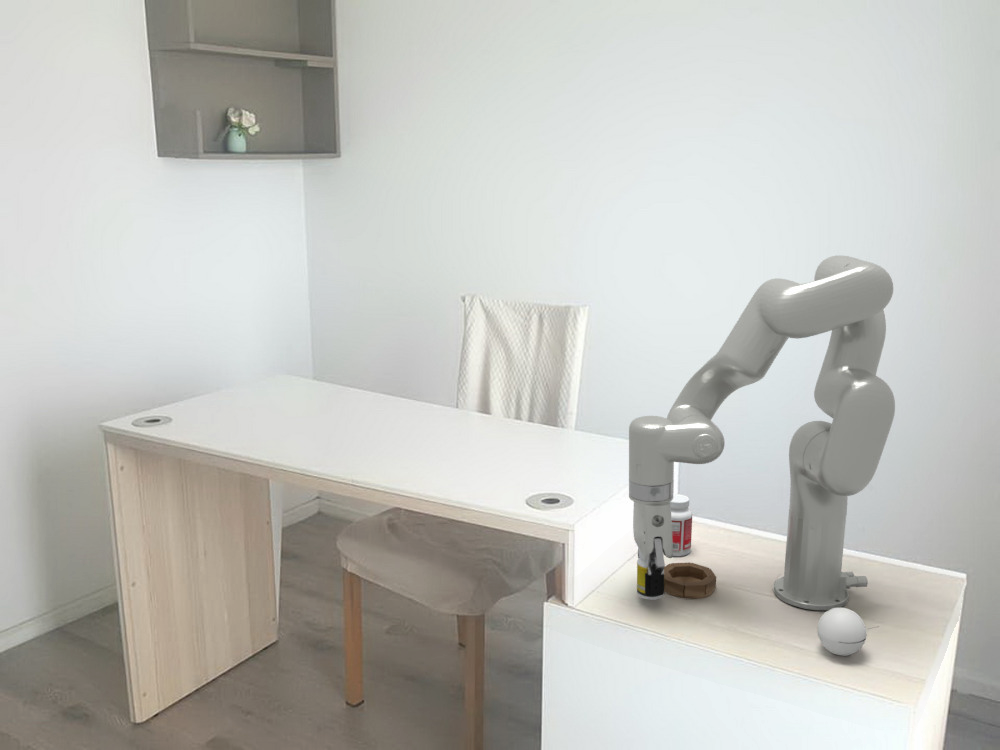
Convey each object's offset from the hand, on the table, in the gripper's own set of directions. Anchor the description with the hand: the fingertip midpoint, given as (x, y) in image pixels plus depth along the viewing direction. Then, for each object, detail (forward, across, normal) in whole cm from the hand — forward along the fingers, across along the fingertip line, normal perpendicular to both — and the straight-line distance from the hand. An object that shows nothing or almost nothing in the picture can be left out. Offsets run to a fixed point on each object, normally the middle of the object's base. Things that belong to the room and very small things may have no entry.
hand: (650, 586), depth 171 cm
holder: (+3, +5, -8) cm, 10 cm away
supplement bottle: (+2, 0, 0) cm, 2 cm away
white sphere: (+4, -20, -27) cm, 34 cm away
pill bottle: (+3, +21, -10) cm, 23 cm away
